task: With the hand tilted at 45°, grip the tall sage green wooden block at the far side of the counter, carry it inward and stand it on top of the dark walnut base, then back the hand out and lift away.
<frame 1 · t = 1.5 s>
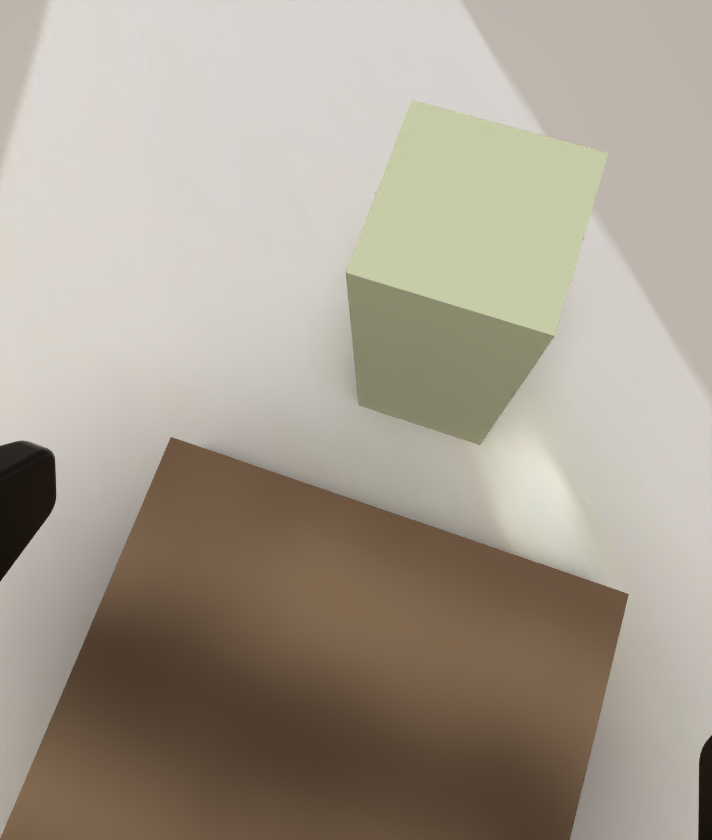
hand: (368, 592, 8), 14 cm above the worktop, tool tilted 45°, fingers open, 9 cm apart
block: (437, 367, 24), on the worktop
base: (317, 737, 21), on the worktop
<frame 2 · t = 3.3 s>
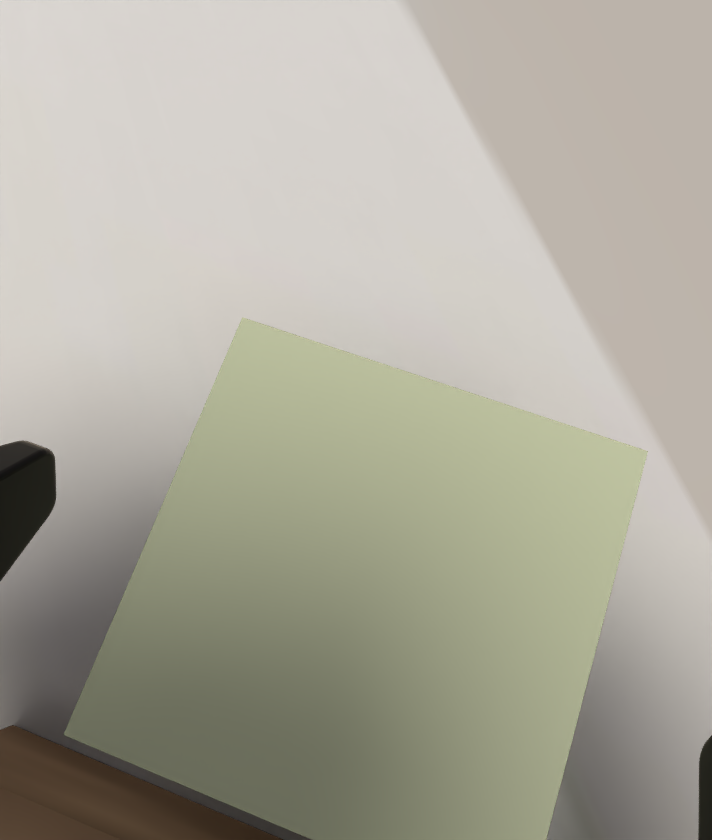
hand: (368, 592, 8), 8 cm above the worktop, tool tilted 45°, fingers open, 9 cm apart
block: (373, 589, 16), on the worktop
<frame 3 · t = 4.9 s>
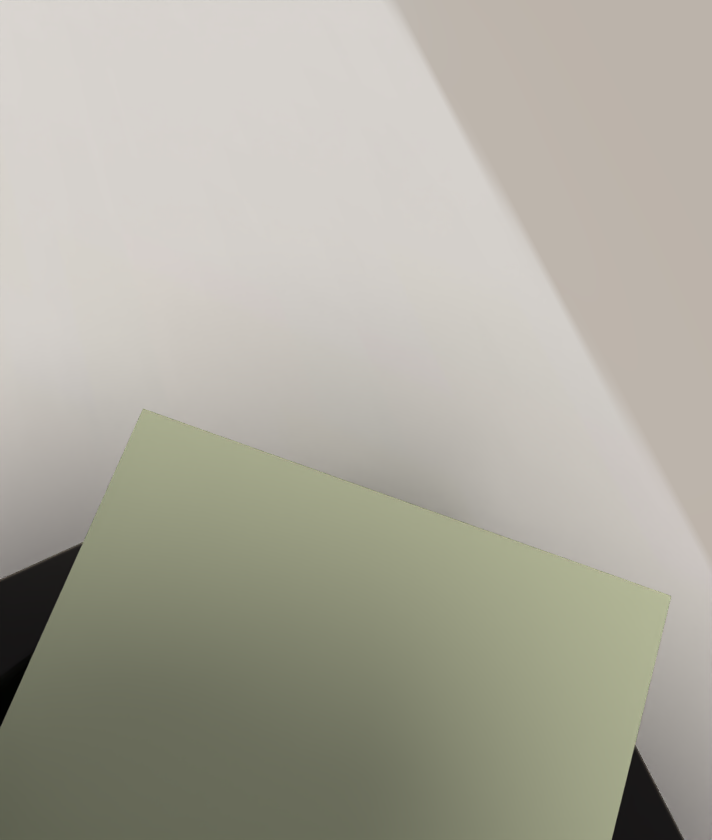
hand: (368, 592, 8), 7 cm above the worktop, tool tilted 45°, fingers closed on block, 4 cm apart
block: (351, 651, 14), on the worktop, touching gripper
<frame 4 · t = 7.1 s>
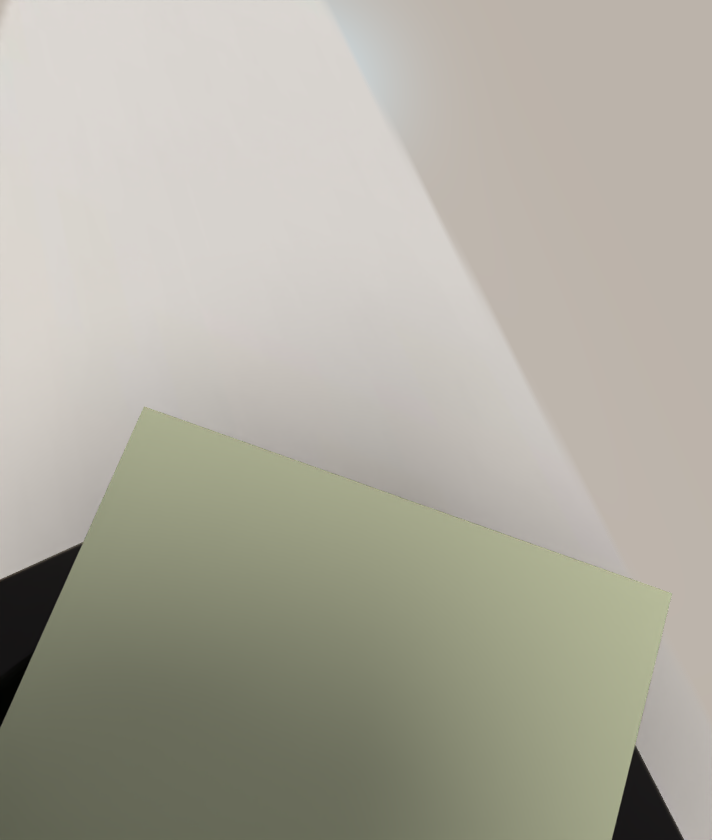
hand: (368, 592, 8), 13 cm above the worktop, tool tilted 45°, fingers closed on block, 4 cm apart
block: (352, 650, 14), point 7 cm above the worktop, touching gripper
when the fingers open (11 cm above the worktop, at t = 9.7 s): block drops 1 cm, resting on base.
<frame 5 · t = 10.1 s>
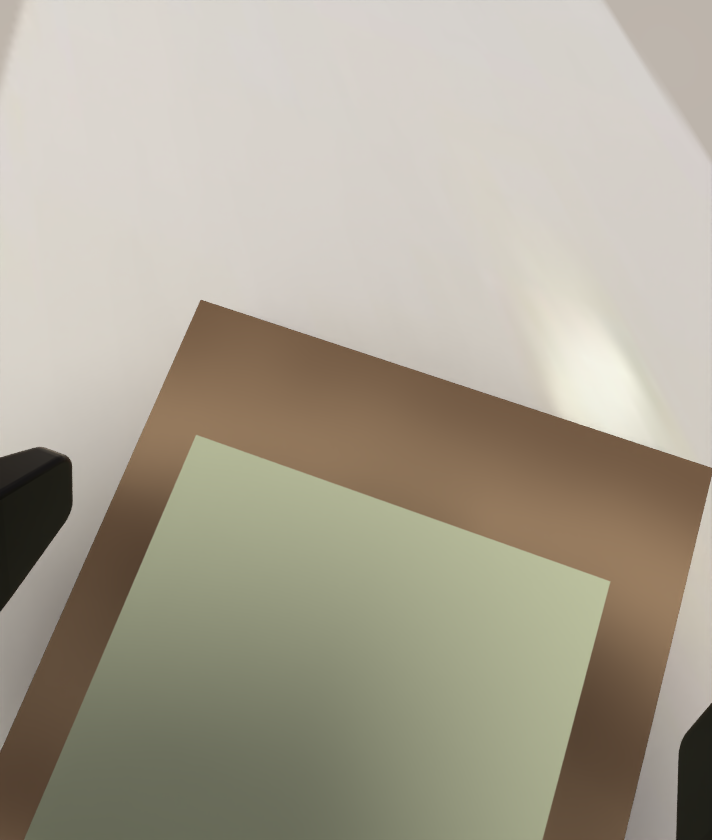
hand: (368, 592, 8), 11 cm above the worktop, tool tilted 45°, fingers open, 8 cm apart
block: (355, 642, 16), point 3 cm above the worktop, touching base
base: (358, 635, 19), on the worktop
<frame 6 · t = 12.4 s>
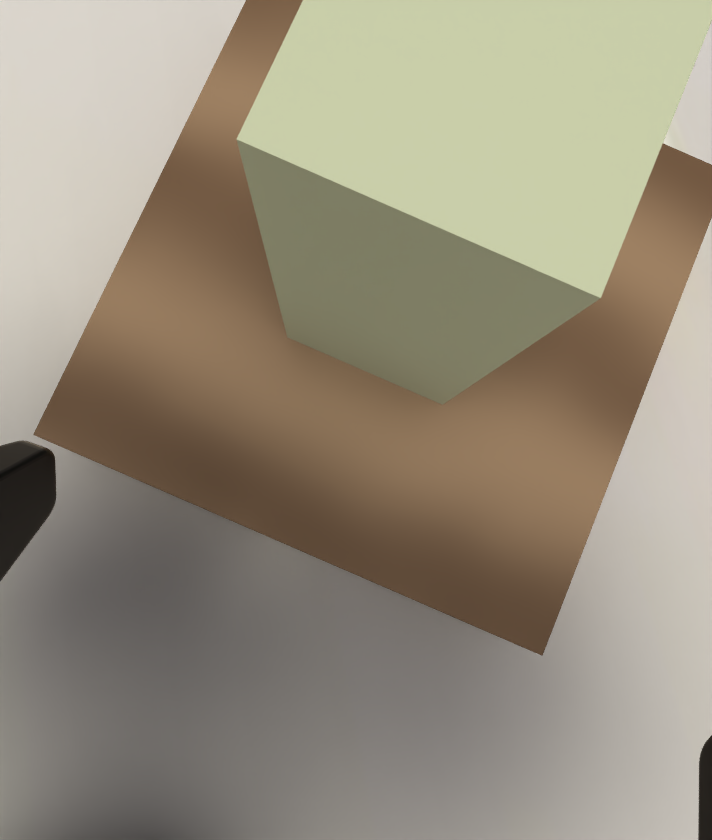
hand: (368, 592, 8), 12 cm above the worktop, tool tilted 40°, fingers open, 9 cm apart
block: (397, 295, 18), point 3 cm above the worktop, touching base
base: (386, 324, 21), on the worktop
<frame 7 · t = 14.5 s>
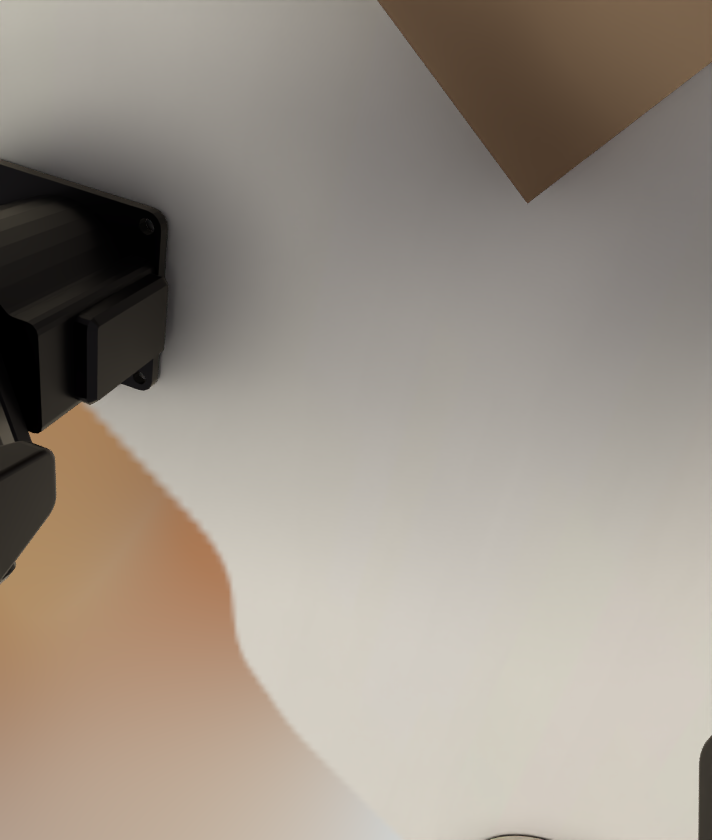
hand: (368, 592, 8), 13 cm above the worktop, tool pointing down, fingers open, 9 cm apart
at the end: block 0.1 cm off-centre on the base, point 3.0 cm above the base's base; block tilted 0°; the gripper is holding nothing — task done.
